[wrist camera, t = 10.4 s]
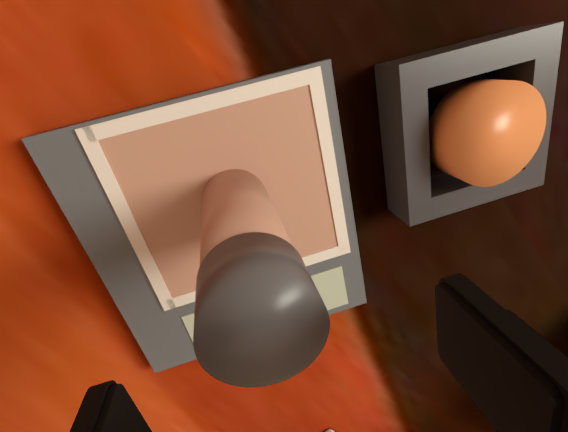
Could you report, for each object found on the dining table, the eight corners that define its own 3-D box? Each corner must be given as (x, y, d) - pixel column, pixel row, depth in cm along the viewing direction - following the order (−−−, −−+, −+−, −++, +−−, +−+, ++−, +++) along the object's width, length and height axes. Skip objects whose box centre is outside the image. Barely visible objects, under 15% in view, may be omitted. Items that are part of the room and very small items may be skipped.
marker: (258, 159, 20) (316, 259, 10) (275, 219, 22) (339, 361, 11) (190, 178, 20) (171, 305, 9) (212, 238, 22) (218, 403, 11)
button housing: (519, 26, 22) (564, 20, 19) (508, 172, 26) (543, 184, 23) (374, 65, 21) (398, 64, 18) (388, 209, 25) (409, 226, 22)
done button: (514, 68, 21) (552, 67, 18) (507, 161, 23) (540, 171, 21) (424, 92, 20) (451, 96, 18) (427, 185, 23) (451, 198, 20)
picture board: (325, 59, 20) (331, 59, 19) (361, 295, 28) (367, 304, 27) (29, 135, 18) (19, 139, 17) (156, 362, 26) (154, 375, 25)
